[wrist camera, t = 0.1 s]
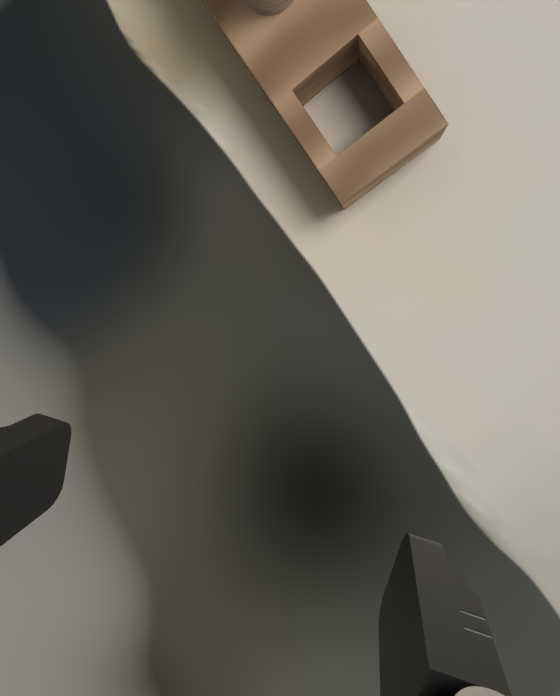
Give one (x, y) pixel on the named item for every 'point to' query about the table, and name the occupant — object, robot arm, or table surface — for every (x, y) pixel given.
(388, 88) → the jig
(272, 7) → the brushed metal cylinder
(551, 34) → the table surface
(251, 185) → the table surface
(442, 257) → the table surface
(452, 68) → the table surface
